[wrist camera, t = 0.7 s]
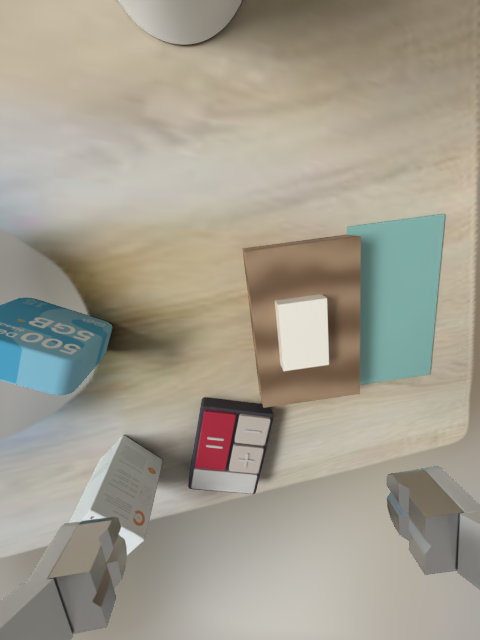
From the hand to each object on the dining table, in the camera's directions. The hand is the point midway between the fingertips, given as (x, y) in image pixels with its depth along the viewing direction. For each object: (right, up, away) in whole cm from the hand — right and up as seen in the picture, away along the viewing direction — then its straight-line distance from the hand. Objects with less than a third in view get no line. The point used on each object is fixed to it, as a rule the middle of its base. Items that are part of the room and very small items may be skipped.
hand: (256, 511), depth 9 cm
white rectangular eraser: (+7, +4, +29) cm, 30 cm away
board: (+8, +6, +34) cm, 35 cm away
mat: (+22, +8, +34) cm, 41 cm away
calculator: (-2, -14, +40) cm, 43 cm away
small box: (-18, -17, +40) cm, 47 cm away
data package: (-24, +5, +32) cm, 40 cm away
